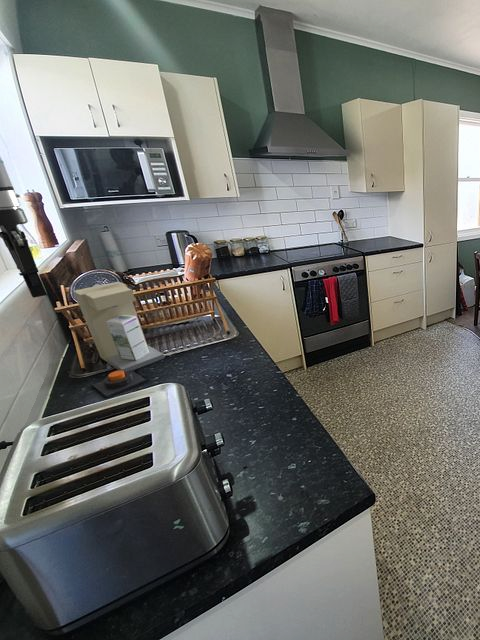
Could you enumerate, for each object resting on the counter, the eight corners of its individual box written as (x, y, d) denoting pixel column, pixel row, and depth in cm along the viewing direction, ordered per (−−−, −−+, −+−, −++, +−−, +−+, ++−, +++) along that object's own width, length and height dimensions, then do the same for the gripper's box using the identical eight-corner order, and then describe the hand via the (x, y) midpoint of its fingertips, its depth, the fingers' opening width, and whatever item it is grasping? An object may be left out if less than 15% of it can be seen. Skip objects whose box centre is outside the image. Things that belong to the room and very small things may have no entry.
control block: (107, 399, 101) (103, 390, 100) (93, 387, 105) (90, 379, 104) (147, 382, 109) (144, 374, 107) (132, 372, 113) (129, 365, 112)
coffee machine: (123, 374, 112) (95, 303, 102) (100, 358, 120) (72, 290, 110) (165, 359, 122) (143, 292, 111) (141, 344, 130) (118, 281, 119)
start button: (113, 383, 104) (111, 378, 103) (108, 379, 105) (106, 374, 105) (127, 377, 106) (125, 372, 106) (122, 373, 108) (120, 369, 107)
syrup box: (150, 352, 121) (137, 314, 115) (135, 361, 116) (121, 322, 110) (135, 351, 122) (121, 313, 116) (120, 360, 116) (104, 321, 110)
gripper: (28, 209, 87) (65, 297, 97) (15, 204, 93) (50, 287, 103) (-17, 212, 81) (27, 305, 91) (-29, 206, 87) (13, 294, 97)
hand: (39, 295), depth 97 cm, fingers closed
